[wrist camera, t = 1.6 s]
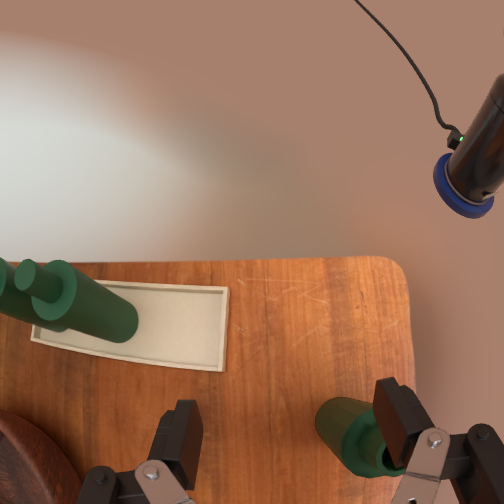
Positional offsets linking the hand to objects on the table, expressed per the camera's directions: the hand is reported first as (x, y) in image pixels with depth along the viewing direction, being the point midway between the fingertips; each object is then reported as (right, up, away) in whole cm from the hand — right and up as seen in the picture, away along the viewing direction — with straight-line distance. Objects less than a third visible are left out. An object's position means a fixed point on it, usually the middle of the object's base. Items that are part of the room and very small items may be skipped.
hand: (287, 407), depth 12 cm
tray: (-18, -2, +24) cm, 30 cm away
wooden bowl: (-33, -27, +15) cm, 45 cm away
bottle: (+8, -12, +18) cm, 23 cm away
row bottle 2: (-18, -2, +24) cm, 30 cm away
